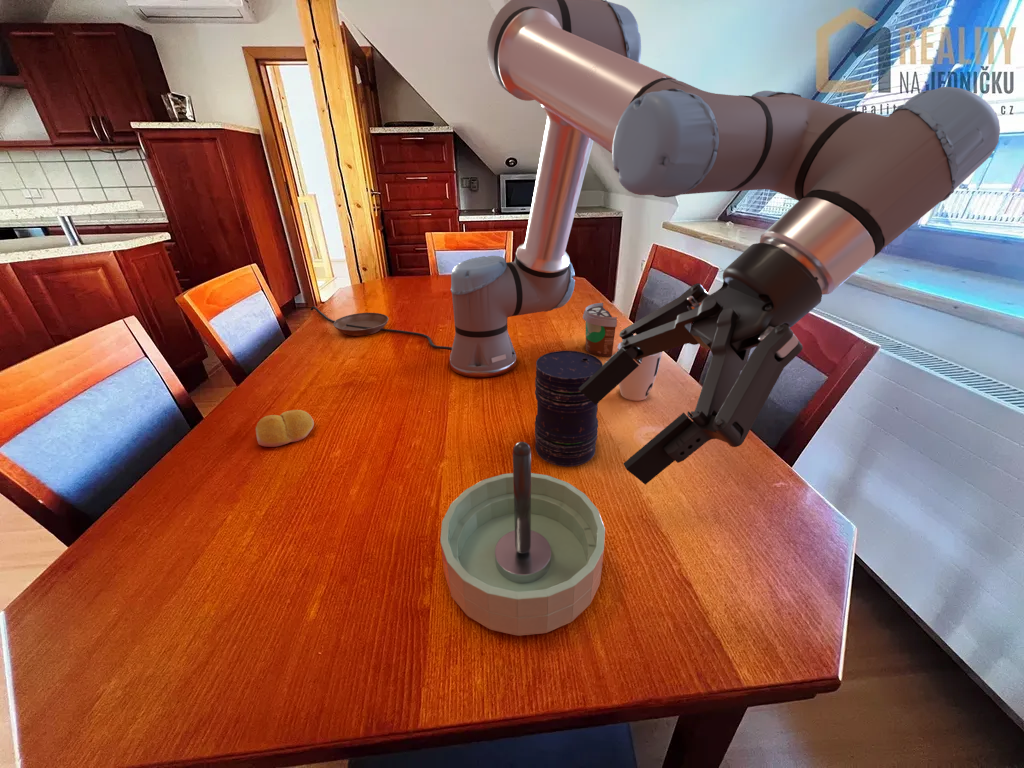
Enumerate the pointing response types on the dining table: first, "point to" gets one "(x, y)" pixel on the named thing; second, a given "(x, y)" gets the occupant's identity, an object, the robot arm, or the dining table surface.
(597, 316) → the food container
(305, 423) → the bread roll
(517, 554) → the peg on round base
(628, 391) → the cup
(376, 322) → the saucer
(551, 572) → the bowl
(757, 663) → the dining table surface
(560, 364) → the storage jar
